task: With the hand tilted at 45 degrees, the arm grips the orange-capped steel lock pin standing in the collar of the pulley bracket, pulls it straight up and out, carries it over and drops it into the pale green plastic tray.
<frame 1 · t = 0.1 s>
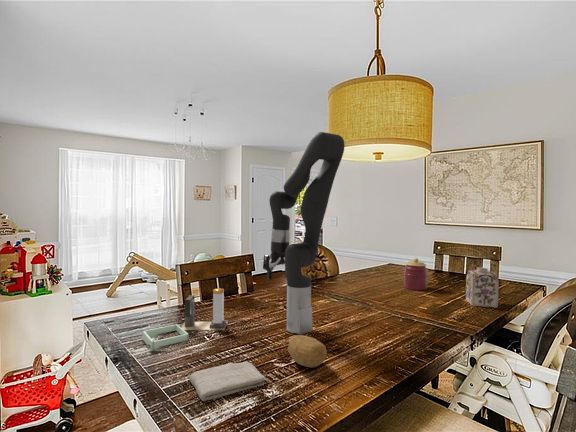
hand: (278, 278, 142), 17 cm above the table, tool pointing down, fingers open, 8 cm apart
washcloth: (227, 385, 92), on the table
pulley bracket: (204, 328, 132), on the table
lock pin: (218, 325, 133), point 1 cm above the table, touching pulley bracket
potato: (306, 365, 103), on the table
decorative jar: (481, 304, 170), on the table
canister: (415, 288, 202), on the table
tray: (165, 341, 120), on the table
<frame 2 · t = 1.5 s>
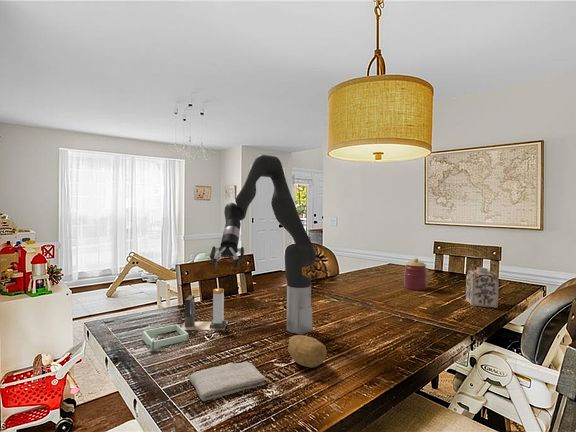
hand: (224, 268, 144), 21 cm above the table, tool tilted 45°, fingers open, 8 cm apart
nothing on the table moved.
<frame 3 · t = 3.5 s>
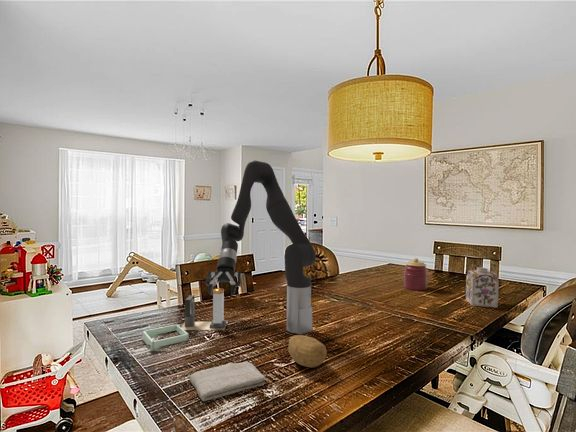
hand: (221, 294, 137), 12 cm above the table, tool tilted 45°, fingers open, 8 cm apart
nothing on the table moved.
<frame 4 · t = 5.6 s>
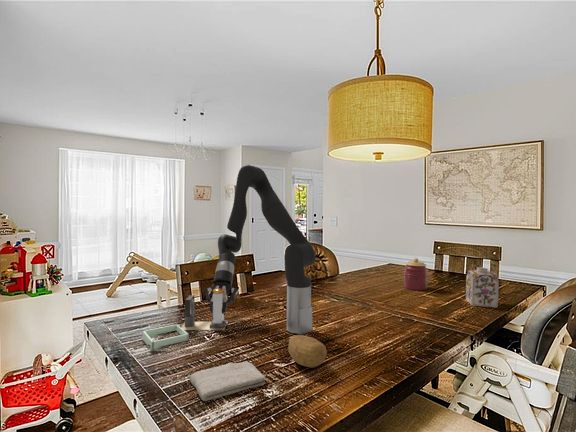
hand: (217, 312, 130), 7 cm above the table, tool tilted 45°, fingers closed on lock pin, 3 cm apart
lock pin: (218, 325, 132), point 1 cm above the table, touching gripper, pulley bracket
everything else where it was.
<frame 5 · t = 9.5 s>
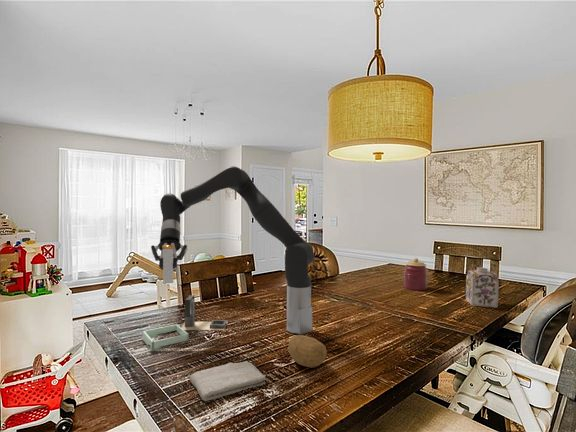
hand: (167, 268, 128), 24 cm above the table, tool tilted 45°, fingers closed on lock pin, 3 cm apart
lock pin: (168, 282, 130), point 18 cm above the table, touching gripper
everything else where it was.
when the fingers open (8 cm above the table, at t = 13.3 s): lock pin drops 1 cm, resting on tray.
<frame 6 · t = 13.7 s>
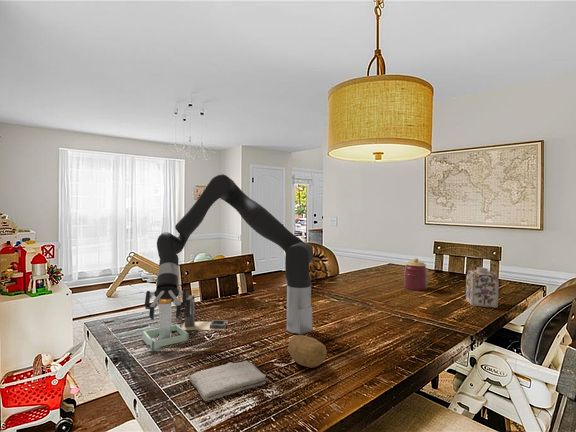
hand: (164, 318, 118), 9 cm above the table, tool tilted 45°, fingers open, 7 cm apart
lock pin: (165, 339, 120), point 1 cm above the table, touching tray
everything else where it was.
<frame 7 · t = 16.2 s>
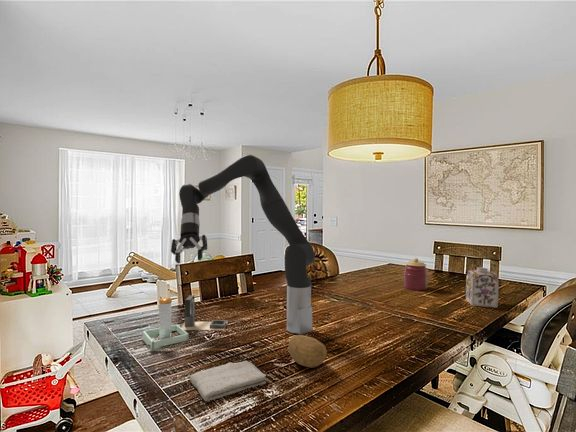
hand: (188, 261, 136), 25 cm above the table, tool tilted 35°, fingers open, 8 cm apart
nothing on the table moved.
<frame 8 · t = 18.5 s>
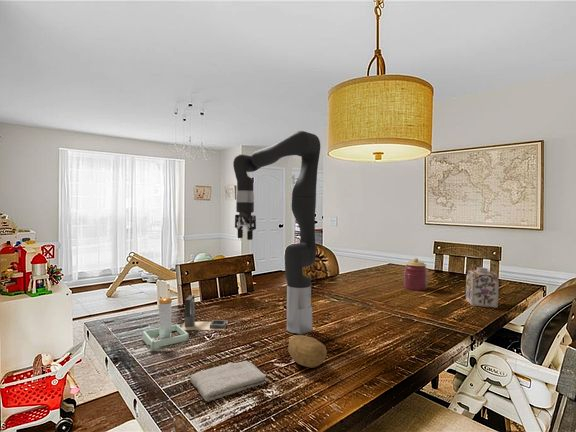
hand: (244, 238, 149), 33 cm above the table, tool pointing down, fingers open, 8 cm apart
nothing on the table moved.
at the end: lock pin 0.2 cm from the tray (horizontally); lock pin point 0.6 cm above the table; the gripper is holding nothing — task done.
